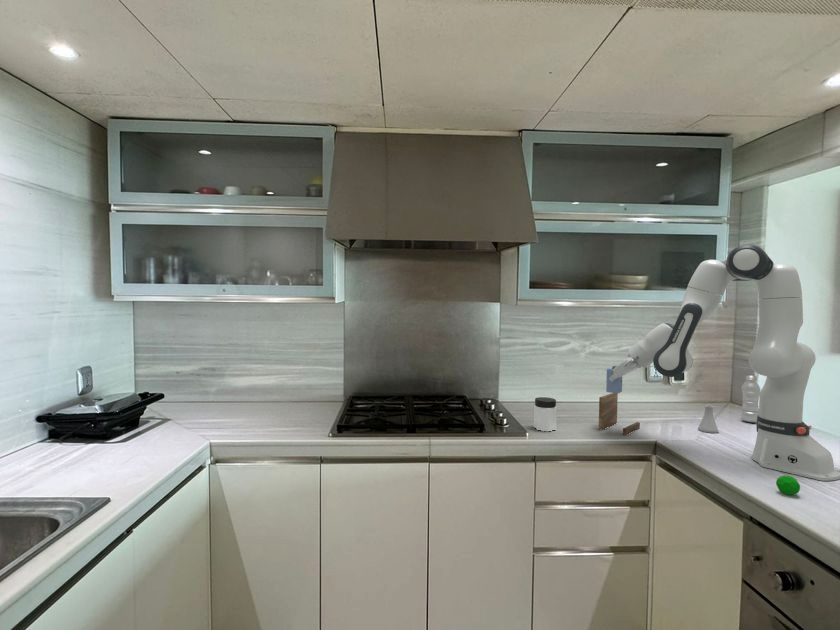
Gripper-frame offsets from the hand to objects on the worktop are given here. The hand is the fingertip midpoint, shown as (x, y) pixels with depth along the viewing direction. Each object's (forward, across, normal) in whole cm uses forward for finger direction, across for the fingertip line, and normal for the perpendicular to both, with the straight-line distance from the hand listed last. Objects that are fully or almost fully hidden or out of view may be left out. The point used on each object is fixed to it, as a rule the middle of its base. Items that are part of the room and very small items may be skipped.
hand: (612, 379), depth 178 cm
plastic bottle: (-14, +55, -45) cm, 72 cm away
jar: (+31, -12, +1) cm, 33 cm away
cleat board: (+14, +7, -16) cm, 22 cm away
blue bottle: (+3, 0, -4) cm, 5 cm away
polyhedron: (-22, -29, -53) cm, 64 cm away
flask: (-6, +28, -36) cm, 46 cm away
